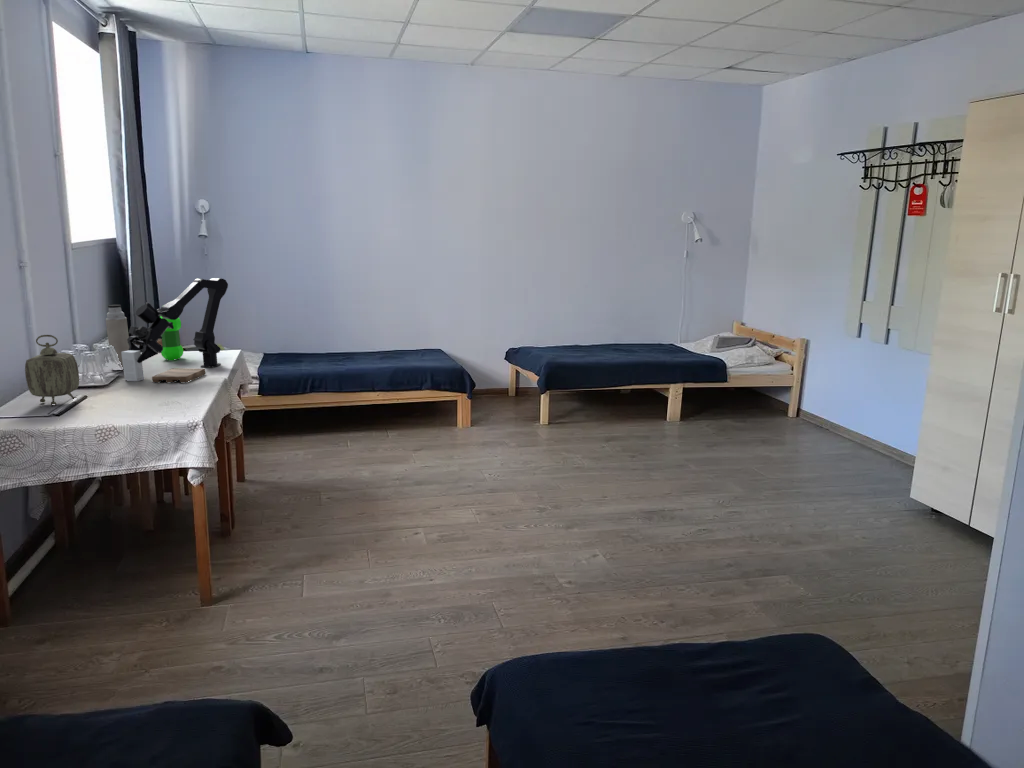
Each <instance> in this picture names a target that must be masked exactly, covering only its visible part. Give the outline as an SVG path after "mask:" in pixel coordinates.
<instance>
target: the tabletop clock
mask: <svg viewBox="0 0 1024 768" xmlns="http://www.w3.org/2000/svg"><path fill="white" fill-rule="evenodd" d="M46 337H48V338H52V339H54V340H55V342H54V343H52V344H50V342H46V343H45V344H40V343H39V342H38V340H39V339H41V338H46ZM58 342H59V340H58V338H57V337H56V336H55V335H52V334H41V335H39V336H38V337H36V339H35V343H36V344H37V345H38V346H40V347H44V348H42V349H41V351H40V353H39V354H38V355H35V356H33V357H31V358H29V359H26V360H25V364H24V372H25V374H24V375H25V381H26V384H27V388H28V391H29V392H30V394H31V395H32V396H35V397H40V399H39V402H40V403H41V402H44V403H45V402H46V399H45V398H46V397H47V398H51V402H50V405H51V406H52V404H56V405H57V402H56V401H55V397H62V396H67V395H68V396H69V397H70V398H72V399H74V398H77V397H76V396H73V394H72V392H74V391H76V390H77V389H78V388H79V386H80V385H79V384H80V371H79V366H78V363H77V360H76V358H75V356H74V355H73V354H71V353H67V352H58V351H57V350H56V349H55V348H54V346H56V345H57V344H58Z"/></svg>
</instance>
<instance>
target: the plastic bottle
mask: <svg viewBox="0 0 1024 768" xmlns="http://www.w3.org/2000/svg"><path fill="white" fill-rule="evenodd" d="M164 305H165V304H163V305H162V306H164ZM159 317H160V318H163V317H162V316H159ZM166 320H167V321H168V322H173V327H174V329H170V328H167V329H166V330H165V332H164V333H163V334H162V336H161V337H163V338H162V339H161V344H162V345H161V346H163V351H162V352H161V353H160V355H161V356H162V357H163V358H164V359H165V360H167V359H168V360H167V361H169V360H170V361H175V360H174V359H178V358H179V359H181V358H182V356H183V355H184V348H183V346H182V345H181V338H180V330H181V328H182V321H181V318H180V317H179V318H177V319H176V320H170V319H166ZM179 359H178V360H179Z"/></svg>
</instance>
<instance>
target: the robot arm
mask: <svg viewBox="0 0 1024 768" xmlns="http://www.w3.org/2000/svg"><path fill="white" fill-rule="evenodd" d="M228 288H229V283H228V282H227V280H226V279H224V278H222V277H221V278H218V277H212V278H210V279H204V278H199V277H198V278H195V279H194V280H193V281H192V283H190V284H189V285H188V286H187V288H185V289H184V290H183V291H182V292H181V293H180V294H179V295H178V296H177V297H176V298H175V299H173V300H171V301H168V302H167V303H165V304H163V305H164V306H163V305H161V307H160V308H157V309H156V308H154V307H153V305H152V304H151V303H149V302H145V303H144V304H142V305H141V306H140V307H138V308H137V309H136V310H135V314H134V315H135V316H137V317H138V318H139V319H140V320H141V321H143V322H144V323H145V324H147V325H148V324H150V325H149V326H148V328H147V327H146V326H143V325H140V326H139V327H137V326H134V325H133V326H132V325H131V326H130V328H129V329H128V334H129V335H131V336H129V338H128V339H127V341H128V344H129V350H133V351H141V355H140V357H139V358H138V360H137V362H138V363H141V362H142V363H143V362H144V361H146V360H148V359H149V358H152V357H154V356H156V355H159V354H161V352H162V351H163V346H162V345H161V344H160V343H159V342H158V341H159V340H162V338H163V337H161V336H162V334H163V333H164V332H165V330H166V329H167V328H170V329H174V327H173V322H168V321H167V320H166V319H170V320H176V319H177V318H179V319H180V316H181V315H182V313H183V312H184V308H185V307H186V306H187V305H188V304H190V302H191V301H192V300H193V299H194V298H195V297H196V296H197V295H198V294H199V293H200V292H201V291H202V290H203V289H207V294H208V300H207V303H206V304H207V305H206V307H205V309H206V310H205V312H204V317H203V321H202V324H201V325H202V326H201V328H200V329H199V331H195V333H194V337H193V341H194V342H193V345H194V346H195V348H196V349H197V350H198V352H199V353H202V359H203V361H202V362H203V364H202V365H200V368H215V367H218V366H220V365H222V363H221V362H219V363H218V355H217V354H219V353H221V352H220V351H221V346H219V345H218V344H216V337H215V333H214V329H215V326H216V321H217V316H218V312H219V308H220V303H221V300H222V298H223V297H224V296H225V295H226V293H227V290H228ZM161 316H162V317H163V318H160V317H161Z"/></svg>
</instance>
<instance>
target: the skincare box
mask: <svg viewBox="0 0 1024 768" xmlns="http://www.w3.org/2000/svg"><path fill="white" fill-rule="evenodd" d="M141 353H142V351H133V350H128V351H124V352H121V354H122V362H123V369H124V370H123V376H124V381H125V380H127V381H126V382H141V381H143V380H144V379H145V375H144V368H143V367H144V366H143V361H142V362H141V363H138V362H137V360H138V358H139V357H140V355H141Z"/></svg>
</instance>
